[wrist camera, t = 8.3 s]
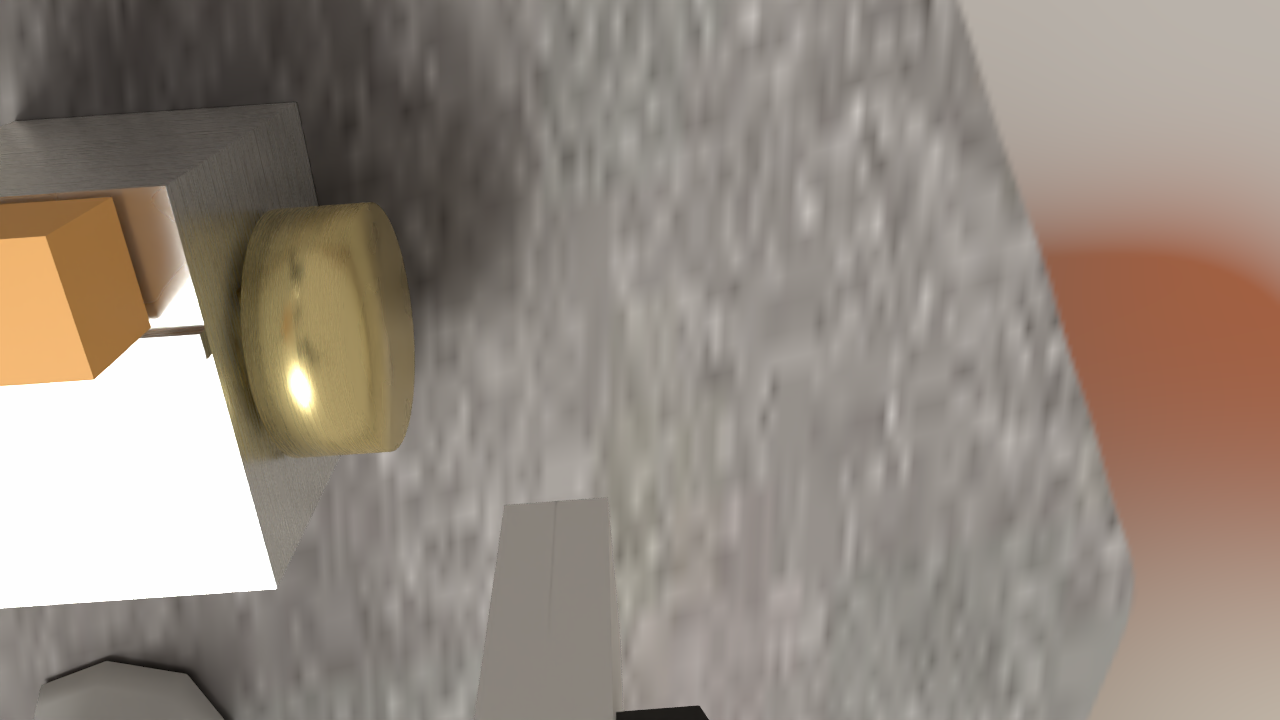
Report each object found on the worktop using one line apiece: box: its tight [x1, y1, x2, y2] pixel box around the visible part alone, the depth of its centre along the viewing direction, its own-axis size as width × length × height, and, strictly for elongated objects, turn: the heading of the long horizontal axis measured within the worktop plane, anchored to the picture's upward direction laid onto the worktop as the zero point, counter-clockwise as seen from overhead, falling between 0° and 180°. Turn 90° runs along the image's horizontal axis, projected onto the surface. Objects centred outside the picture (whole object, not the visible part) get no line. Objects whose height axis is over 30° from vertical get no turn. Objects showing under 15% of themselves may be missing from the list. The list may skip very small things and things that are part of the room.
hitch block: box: [0, 102, 341, 608], centre depth 25 cm, size 10×8×9 cm
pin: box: [236, 202, 415, 458], centre depth 25 cm, size 6×16×6 cm, turn 93°
